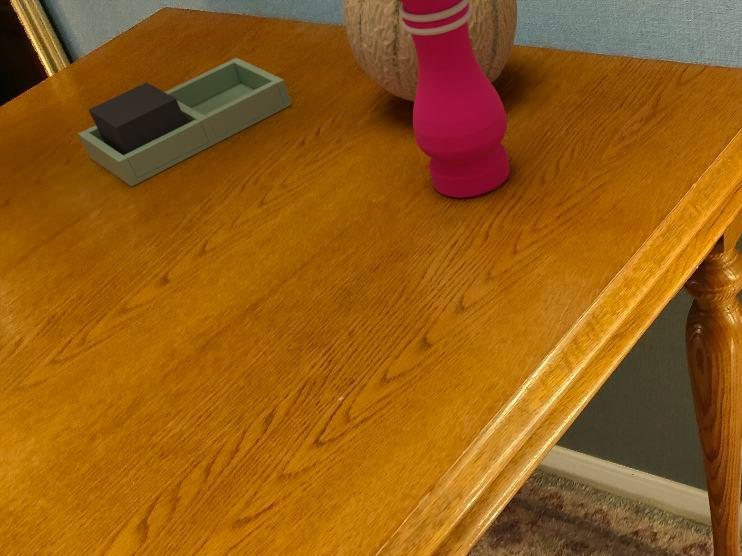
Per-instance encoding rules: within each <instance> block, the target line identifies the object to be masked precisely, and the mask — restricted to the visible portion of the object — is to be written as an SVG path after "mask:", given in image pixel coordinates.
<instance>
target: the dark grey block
mask: <svg viewBox="0 0 742 556" xmlns="http://www.w3.org/2000/svg"><path fill="white" fill-rule="evenodd" d="M165 92H166V91H163V90H161V89H159V88H158V87H156V86H154V85H153V84H151V83H149V82H144V83H141V84H140V85H138V86H135V87H134V88H131V89H129V90H127V91H124V92H123V93H121V94H118V95H117V96H114V97H112V98H110V99H108V100H106V101H104V102H102V103H100V104H97V105H96V106H94V107H91V108H89V109H88V113H89V115H90V116H91V119H92V121H93V123H94V124H95V125H96V126H97V128H98V130H99V132H100V134H101V136H102V138H103V140H104V142H105V144H107V145H108V146H110V147H111V148H113V149H114V150H116V151H117V152H119V153H120V154H122V155H123V156H124V155H125V154H127V153H129V152H131V151H133V150H135V149H137V148H139V147H141V146H143V145H145V144H147V143H149V142H151V141H153V140H155V139H157V138H159V137H161V136H163V135H166V134H168V133H170V132H172V131H174V130H176V129H178V128H180V127H182V126H184V125H186V124H187V123H186V121H185V118H184V116H183V114H182V111H181V109H180V107H179V104H178V102H177V100H176V98H174V97H172V96H170V95H169V94H167V93H165Z"/></svg>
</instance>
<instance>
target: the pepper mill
mask: <svg viewBox="0 0 742 556" xmlns="http://www.w3.org/2000/svg"><path fill="white" fill-rule="evenodd" d="M400 1H401V2H402V4H401V5H400V8H399V13H400V15H401V16H402V19H403V22H402V26H403V28H404V29H405V30H406V31H407V32H408V33H411V36H412V38H413V41H414V44H415V48H416V53H417V59H418V84H417V90H416V96H415V102H413V109H412V127H413V133H414V140H415V142H416V144H417V147H419V148H420V150H421V151H422V152H423V154H425V155H426V156H428V157H429V158H430V160H429V161H428V169H429V172H430V177H431V181H432V185H433V188H434V189H435V190H436V191H437V192H438V193H440V194H441V195H442V196H445V197H449V198H453V199H454V198H457V199H468V198H473V197H474V198H475V197H478V196H481V195H485V194H488V193H489V192H492V191H495V190H496V189H497V188H499V187H500V186H501V185H503V184H504V183H505V182H506V180H507V178H508V177H509V175H510V172H511V171H510V163H509V158H508V152H507V149H506V147H505V146H504V145H503V143H502V141H503V140H504V138H505V135H506V132H507V129H508V117H507V114H506V110H505V107H504V103H503V101H502V100H501V97H500V95H499V93H498V91H497V90H496V88H495V87H494V85H493V84H492V83H490V81H489V80H488V79H487V77H486V76H485V74H484V73H483V71H482V70H481V68H480V66H479V65H478V62H477V60H476V58H475V56H474V53H473V50H472V46H471V42H470V38H469V31H468V22H467V21H468V20H469V18H470V17H471V14H472V10H471V8H470V6H469V3H468V2H469V0H400Z"/></svg>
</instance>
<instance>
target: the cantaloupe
mask: <svg viewBox="0 0 742 556" xmlns="http://www.w3.org/2000/svg"><path fill="white" fill-rule="evenodd" d="M468 3H469V6H470V8H471V10H472V14H471V17H470V18H469V20H468V21H467V22H468V31H469V38H470V42H471V46H472V50H473V53H474V56H475V58H476V60H477V62H478V65H479V66H480V68H481V70H482V71H483V73H484V74H485V76H486V77H487V79H488V80H489V81H490V83H491V84H492V83H494V82H495V80H497V79H498V78H499V76H500V75H501V73H502V71H503V69H504V68H505V66H506V64H507V62H508V60H509V57H510V55H511V52H512V48H513V44H514V42H515V36H516V30H517V22H518V4H517V0H469V2H468ZM401 4H402V2H401V1H400V0H342V10H343V11H342V18H343V23H344V27H345V33H346V36H347V39H348V42H349V45H350V48H351V52H352V54H353V55H354V58H355V59H356V61H357V63H358V65H359V66H360V67H361V69H362V70H363V72H364V74H366V75H367V76H368V77H369V78H370V79H371V80H372V81H373V82H375V83H376V84H377V85H378V86H380V88H382V89H384V90H385V91H386V92H389V93H390V94H391V95H393V96H396V97H398V98H401V99H402V100H406V101H409V102H410V101H411V102H413V103H414V102H415V96H416V90H417V84H418V59H417V53H416V48H415V44H414V41H413V38H412V36H411V33H408V32H407V31H406V30H405V29H404V28H403V26H402V22H403V19H402V16H401V15H400V13H399V8H400V5H401Z"/></svg>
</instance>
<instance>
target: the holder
mask: <svg viewBox="0 0 742 556" xmlns="http://www.w3.org/2000/svg"><path fill="white" fill-rule="evenodd" d="M164 92H165V93H167V94H169V95H170V96H172V97H174V98H176V100H177V102H178V104H179V107H180V109H181V111H182V114H183V116H184V118H185V121H186V123H187V124H186V125H184V126H182V127H180V128H178V129H176V130H174V131H172V132H170V133H168V134H166V135H163V136H161V137H159V138H157V139H155V140H153V141H151V142H149V143H147V144H145V145H143V146H141V147H139V148H137V149H135V150H133V151H131V152H129V153H127V154H125V155H124V156H123V155H122V154H120V153H119V152H117V151H116V150H114V149H113V148H111V147H110V146H108V145H107V144H105V142H104V140H103V138H102V136H101V134H100V132H99V130H98V128H97V126H96V124H95V125H93V126H91V127H88V128H87V129H84V130H83V131H81V132H78V133H77V135H78V137H79V140H80V141H81V143H82V145H83V147H84V149H85V150H86V153H87V154H88V156H89V158H90V159H91V160H92V161H93V162H95V163H96V164H98V165H100V166H101V167H102V168H104V169H105V170H107V171H108V172H109V173H111V174H112V175H114V176H115V177H116V178H118V179H119V180H121V181H122V182H124V183H125V184H127V185H128V186H129V187H130V188H133V187H135V186H137V185H138V184H140V183H142V182H144V181H146V180H147V179H150V178H151V177H154V176H156V175H158V174H160V173H162V172H163V171H166V170H168V169H169V168H172V167H173V166H175V165H177V164H179V163H181V162H183V161H185V160H187V159H188V158H192V156H195V155H197V154H199V153H200V152H203V151H205V150H206V149H208V148H210V147H212V146H214V145H216V144H219V143H220V142H222V141H224V140H226V139H228V138H230V137H232V136H234V135H236V134H238V133H239V132H241V131H244V130H246V129H248V128H250V127H251V126H253V125H255V124H257V123H259V122H261V121H263V120H265V119H267V118H269V117H272V116H273V115H275V114H277V113H279V112H280V111H282V110H285V109H286V108H288V107H290V106H292V105H293V103H292V100H291V97H290V94H289V91H288V88H287V85H286V82H285V80H284V79H283V78H281V77H280V76H277V75H275V74H272V73H271V72H268V71H266V70H264V69H263V68H260V67H257V66H256V65H253V64H251V63H249V62H247V61H245V60H243V59H240V58H238V57H234V58H233V59H231V60H228V61H226V62H224V63H222V64H220V65H218V66H216V67H214V68H211V69H209V70H208V71H206V72H203V73H201V74H199V75H197V76H195V77H193V78H191V79H188V80H186V81H185V82H183V83H180V84H178V85H177V86H174V87H172V88H170V89H168V90H166V91H164Z"/></svg>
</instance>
